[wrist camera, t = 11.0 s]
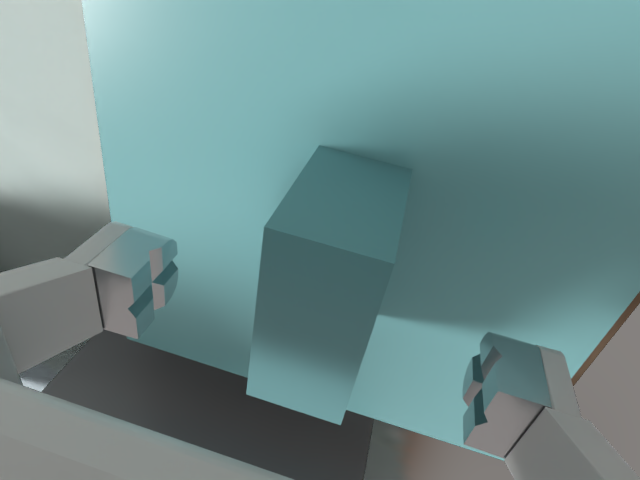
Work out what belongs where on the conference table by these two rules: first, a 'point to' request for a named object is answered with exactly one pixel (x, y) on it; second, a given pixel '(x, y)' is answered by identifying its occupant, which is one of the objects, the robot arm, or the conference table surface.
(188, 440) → the storage box
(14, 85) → the conference table surface
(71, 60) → the conference table surface
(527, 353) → the robot arm
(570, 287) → the lid
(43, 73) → the conference table surface
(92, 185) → the conference table surface
